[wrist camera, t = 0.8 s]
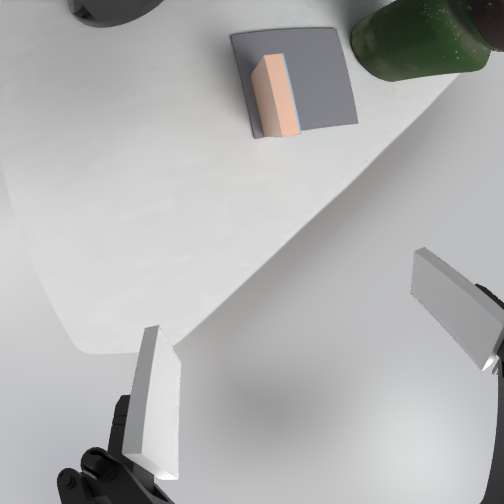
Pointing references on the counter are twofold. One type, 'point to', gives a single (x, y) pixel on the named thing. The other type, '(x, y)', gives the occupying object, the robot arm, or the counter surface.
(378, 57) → the green bottle
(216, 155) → the counter surface
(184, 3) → the counter surface
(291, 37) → the mat
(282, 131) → the tile
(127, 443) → the robot arm
